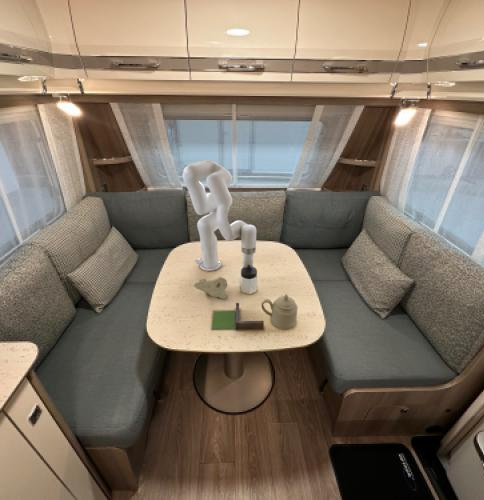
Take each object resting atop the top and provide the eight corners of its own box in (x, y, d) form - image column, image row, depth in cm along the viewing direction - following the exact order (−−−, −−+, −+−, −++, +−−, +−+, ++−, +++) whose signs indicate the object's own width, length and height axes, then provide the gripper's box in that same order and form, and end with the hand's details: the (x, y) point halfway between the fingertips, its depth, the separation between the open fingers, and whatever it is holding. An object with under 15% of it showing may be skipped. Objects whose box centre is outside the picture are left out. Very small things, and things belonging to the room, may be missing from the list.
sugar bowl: (269, 334, 114) (271, 307, 106) (259, 316, 123) (260, 291, 116) (300, 326, 118) (304, 300, 110) (288, 309, 127) (291, 284, 119)
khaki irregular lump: (233, 294, 140) (218, 270, 142) (235, 292, 133) (218, 267, 135) (208, 310, 136) (193, 285, 139) (208, 309, 129) (192, 283, 132)
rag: (211, 329, 117) (211, 328, 116) (213, 311, 126) (213, 311, 126) (234, 329, 117) (234, 328, 116) (234, 311, 126) (234, 310, 126)
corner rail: (235, 330, 116) (235, 323, 114) (236, 309, 127) (235, 302, 125) (263, 329, 116) (263, 323, 114) (261, 309, 127) (261, 302, 125)
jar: (246, 296, 135) (247, 277, 129) (237, 288, 141) (237, 269, 135) (260, 289, 140) (261, 270, 134) (250, 282, 146) (250, 263, 139)
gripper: (240, 241, 143) (240, 269, 152) (241, 256, 130) (241, 286, 139) (254, 241, 143) (253, 269, 152) (256, 256, 130) (255, 285, 139)
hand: (248, 277), depth 146 cm, fingers closed
